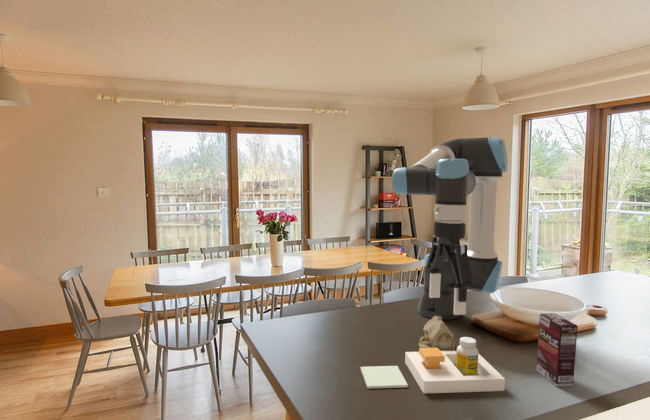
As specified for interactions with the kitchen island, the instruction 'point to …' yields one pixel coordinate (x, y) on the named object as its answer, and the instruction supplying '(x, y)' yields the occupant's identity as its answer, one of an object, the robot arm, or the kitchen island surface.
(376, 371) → the mat
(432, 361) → the orange sticky note pad
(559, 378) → the supplement box
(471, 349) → the supplement bottle
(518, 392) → the kitchen island surface
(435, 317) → the ceramic model
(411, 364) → the frame
